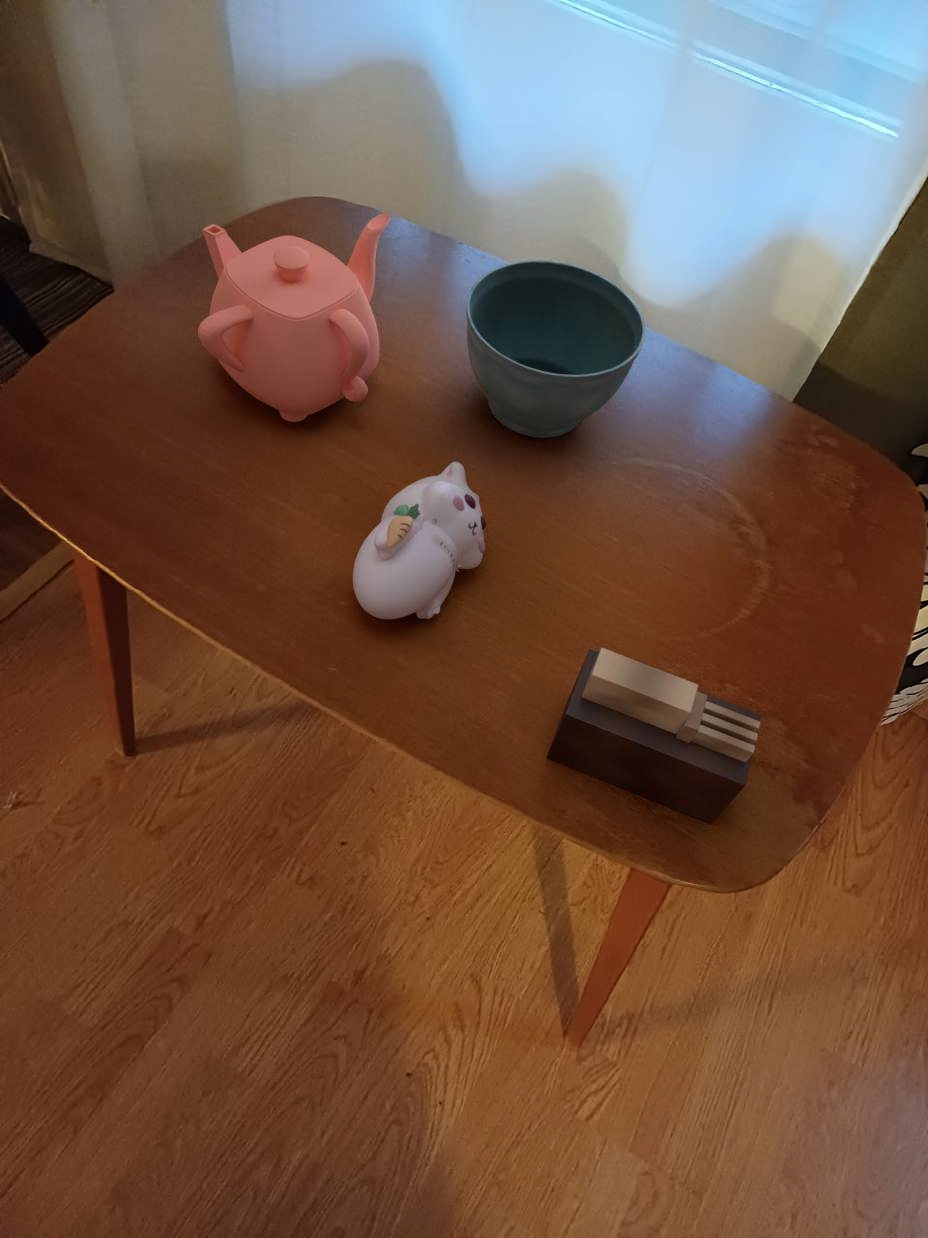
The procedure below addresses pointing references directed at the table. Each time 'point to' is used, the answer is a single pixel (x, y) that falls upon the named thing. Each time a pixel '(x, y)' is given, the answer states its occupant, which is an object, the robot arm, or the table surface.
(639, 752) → the stand
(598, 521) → the table surface
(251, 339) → the teapot
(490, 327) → the flower pot
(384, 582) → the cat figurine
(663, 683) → the fork
